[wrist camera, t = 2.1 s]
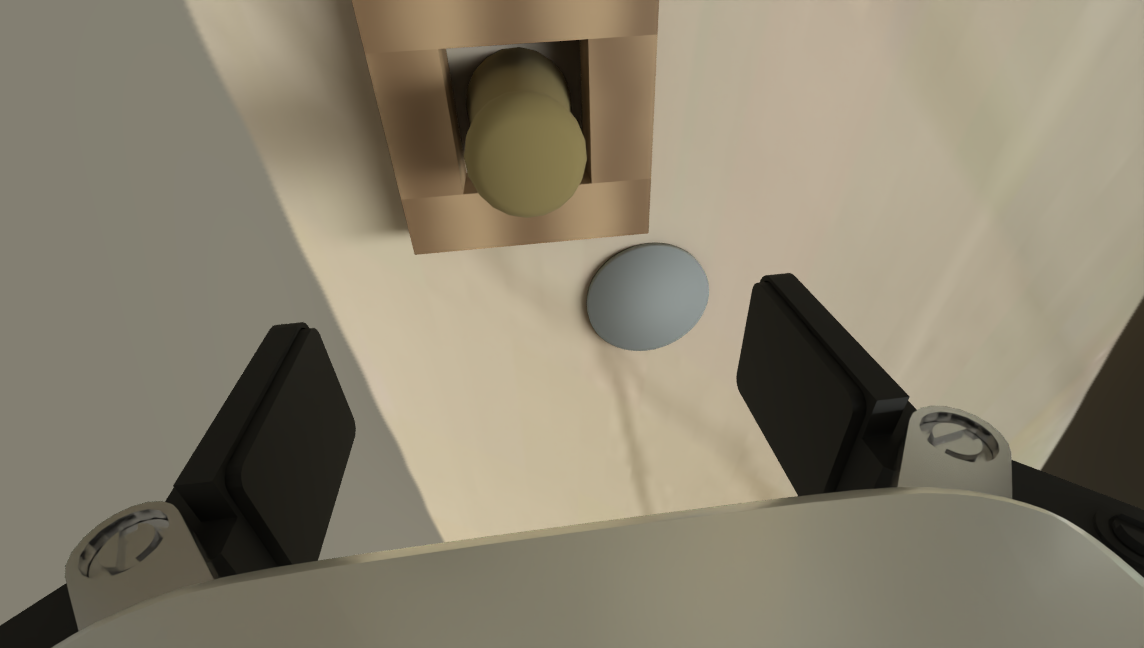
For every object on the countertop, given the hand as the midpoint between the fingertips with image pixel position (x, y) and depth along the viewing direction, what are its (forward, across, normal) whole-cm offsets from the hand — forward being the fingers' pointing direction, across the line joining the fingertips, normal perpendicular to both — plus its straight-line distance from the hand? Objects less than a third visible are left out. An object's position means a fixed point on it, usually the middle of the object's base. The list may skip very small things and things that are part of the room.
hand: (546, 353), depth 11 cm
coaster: (+23, -8, +14) cm, 28 cm away
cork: (+23, 0, 0) cm, 23 cm away
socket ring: (+23, 0, 0) cm, 23 cm away
